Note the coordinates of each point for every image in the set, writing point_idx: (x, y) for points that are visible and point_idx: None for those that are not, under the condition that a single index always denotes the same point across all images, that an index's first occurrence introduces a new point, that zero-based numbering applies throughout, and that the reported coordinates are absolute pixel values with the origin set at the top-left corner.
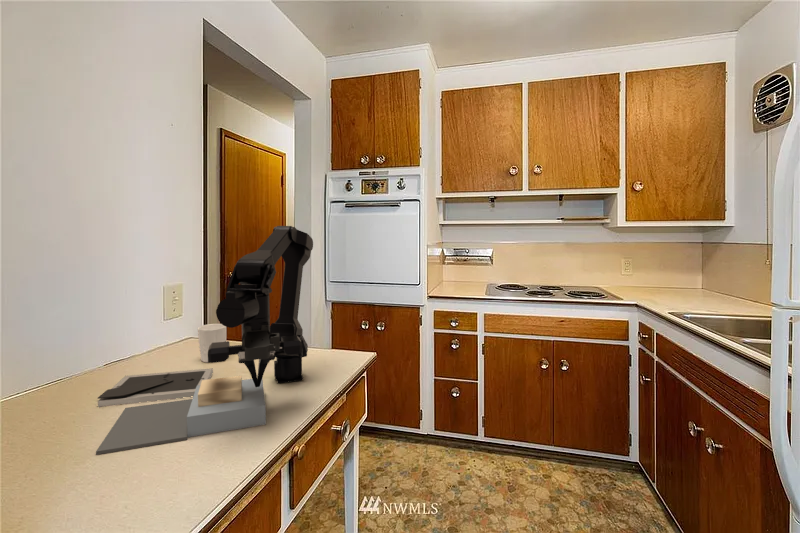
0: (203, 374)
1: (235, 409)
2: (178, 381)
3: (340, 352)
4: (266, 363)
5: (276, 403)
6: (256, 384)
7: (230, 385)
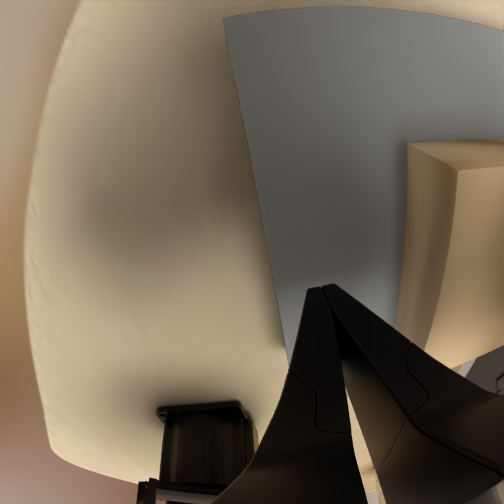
0: None
1: (424, 16)
2: (490, 380)
3: (123, 477)
4: (264, 471)
5: (210, 264)
6: (333, 294)
7: (498, 254)
